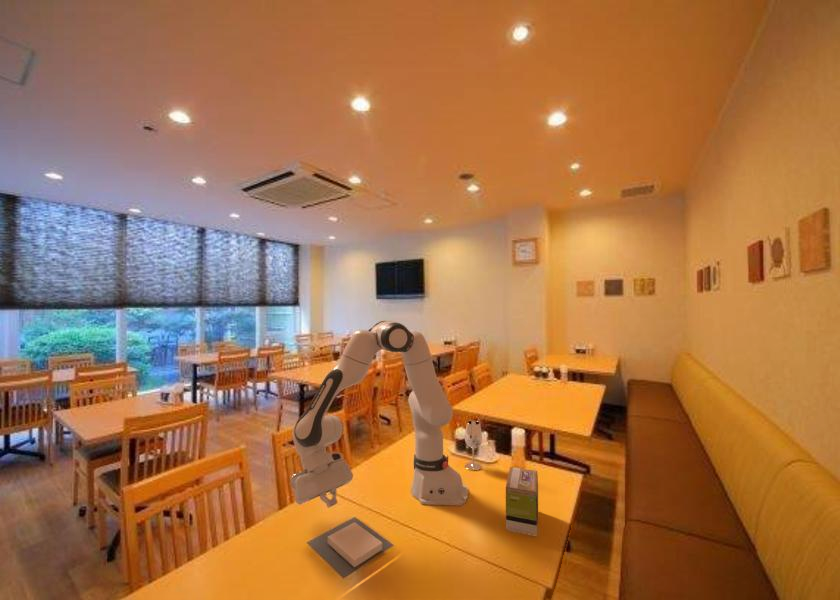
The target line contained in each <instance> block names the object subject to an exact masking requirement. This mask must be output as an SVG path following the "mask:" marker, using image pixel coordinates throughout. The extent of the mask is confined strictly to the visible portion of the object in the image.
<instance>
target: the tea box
mask: <svg viewBox="0 0 840 600" xmlns="http://www.w3.org/2000/svg"><path fill="white" fill-rule="evenodd" d="M538 477H539V475H538V470H534V469H529V468H528V469H526V468H521V467H520V468H519V467H513V466H510V467H509V471H508V475H507V480H506V484H505V530H506V531H508V530H509V532H514V531H515V532H514V533H517V532H519V533H518V534H522V533H525V534H524V535H527V534H530V535H529V536H532V535H536V536H535V537H538V524H539V523H538V522H539V478H538Z"/></svg>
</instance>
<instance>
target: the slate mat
mask: <svg viewBox="0 0 840 600" xmlns="http://www.w3.org/2000/svg"><path fill="white" fill-rule="evenodd" d="M354 522H355V523H357V524H358V525H359V526H361V527H362V528H363V529H365V530H366V531H367V532H369V533H370V534H371V535H373V536H374V537H375V538H377V539H378V540H380V541H381V542H382V550H381V551H379V552H378V553H376V554H375V555H373V556H372V557H370V558H369V559H367V560H366V561H364V562H362V563H361V564H359V565H358V566H356V567H353V566H352V565H351V564H350V563H349V562H348V561H347V560H346V559H344V558H343V557H342V556H341V555H340V554H339V553H338V552H337V551H336V550H334V549H333V548H332V547H331V546H330V545H329V544H328V543H327V537H328V536H330V535H331V534H333V533H335V532H337V531H339V530H341V529H343V528H344V527H346V526H348V525H350V524H352V523H354ZM306 544H307V545H308V546H309V547H310V548H311V549H313V550H314V551H315V552H316V553H317V554H318V556H319V557H321V558H322V559H323V560H324V561H325V562H326V563H327V564H328V565H329V566H330V567H331V568H332V569H333V570H334V571H335V572H336V573H338V575H339V576H340V577H341V578H343V579H345V578H347V577H348V576H349V575H351V574H352V573H355V571H357V570H359V569H360V568H361V567H363V566H365V565H366V564H368V563H370V562H371V561H373V560H374V559H375V558H377V557H378V556H380V555H381V554H383V553H384V552H386V551H387V550H389V549H390V548H391V547H393V546H394V544H393V543H391V542H390V541H389V540H387V539H386V538H385V537H384V536H382V535H380V534H379V533H378V532H377V531H375V530H374V529H373V528H371V527H370V526H369V525H367V524H365V523H364V522H363V521H362V520H361V519H359V518H357V517H356V516H354V517H352V518H350V519H348V520H346V521H344V522H343V523H340V524H338V525H337V526H335V527H333V528H331V529H329V530H327V531H325V532H323V533H321V534H320V535H318V536H316V537H314V538H313V539H310V540H309V541H306Z"/></svg>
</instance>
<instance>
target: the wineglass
mask: <svg viewBox="0 0 840 600" xmlns="http://www.w3.org/2000/svg"><path fill="white" fill-rule="evenodd" d="M464 442H465V444H466V445H467V446H468V447H469V448H471V452H472V460H471V461H472V462H467V463H465V464H466V465H465V464H464V467H466V468H465V469H467V470H468V469H470V470H469V471H472V470H477V471H480V470H481V469H482V464H480V463H479V462H475V449H477V448H479V447H480V446H481V444H482V443H483V433H482V428H481V423H480V422H479V421H478V420H467V423H466V427H465V432H464ZM479 469H480V470H479Z"/></svg>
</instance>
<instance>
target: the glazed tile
mask: <svg viewBox="0 0 840 600" xmlns="http://www.w3.org/2000/svg"><path fill="white" fill-rule="evenodd" d="M327 543H328V544H329V545H330V546H331V547H332V548H333V549H334V550H336V551H337V552H338V553H339V554H340V555H341V556H342V557H343V558H344V559H346V560H347V561H348V562H349V563H350V564H351V565H352V566H353V567H356V566H358V565H359V564H361V563H362V562H364V561H366V560H367V559H369V558H370V557H372V556H373V555H375V554H376V553H378V552H379V551H381V550H382V542H381V541H380V540H378V539H377V538H375V537H374V536H373V535H371V534H370V533H369V532H367V531H366V530H365V529H363V528H362V527H361V526H359V525H358V524H357V523H355V522H354V523H352V524H350V525H348V526H346V527H344V528H343V529H341V530H339V531H337V532H335V533H333V534H331V535H330V536H328V537H327Z"/></svg>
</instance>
